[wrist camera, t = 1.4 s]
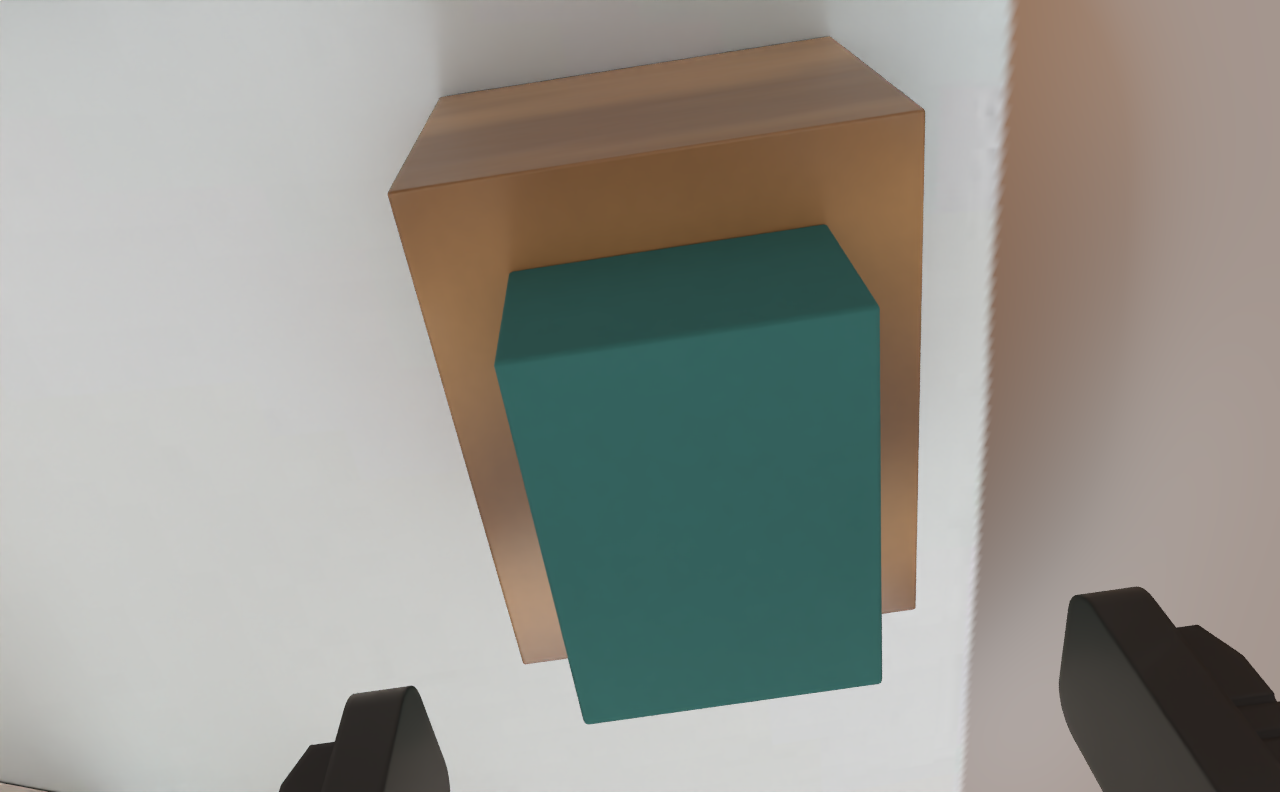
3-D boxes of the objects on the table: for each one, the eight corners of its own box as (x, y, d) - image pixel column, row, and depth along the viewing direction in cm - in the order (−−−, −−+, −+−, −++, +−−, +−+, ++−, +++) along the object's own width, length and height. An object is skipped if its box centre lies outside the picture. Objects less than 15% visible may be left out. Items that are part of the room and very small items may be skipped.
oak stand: (439, 96, 19) (385, 192, 14) (830, 35, 19) (926, 109, 14) (535, 488, 24) (523, 665, 19) (843, 444, 24) (915, 609, 19)
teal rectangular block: (507, 270, 14) (492, 363, 12) (827, 222, 14) (881, 305, 12) (583, 601, 18) (584, 727, 15) (840, 564, 18) (883, 685, 15)
